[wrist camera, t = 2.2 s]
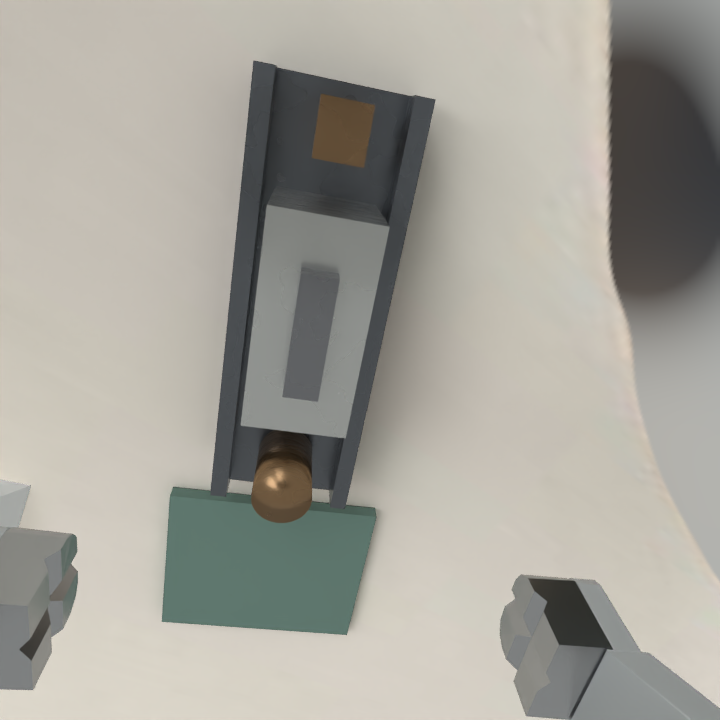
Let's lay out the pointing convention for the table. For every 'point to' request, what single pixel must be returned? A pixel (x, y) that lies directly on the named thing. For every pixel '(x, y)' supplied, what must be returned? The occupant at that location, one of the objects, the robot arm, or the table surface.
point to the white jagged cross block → (12, 502)
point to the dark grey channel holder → (259, 178)
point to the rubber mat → (262, 564)
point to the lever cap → (312, 311)
